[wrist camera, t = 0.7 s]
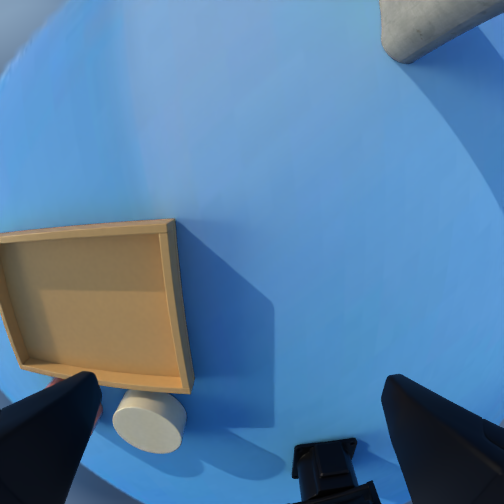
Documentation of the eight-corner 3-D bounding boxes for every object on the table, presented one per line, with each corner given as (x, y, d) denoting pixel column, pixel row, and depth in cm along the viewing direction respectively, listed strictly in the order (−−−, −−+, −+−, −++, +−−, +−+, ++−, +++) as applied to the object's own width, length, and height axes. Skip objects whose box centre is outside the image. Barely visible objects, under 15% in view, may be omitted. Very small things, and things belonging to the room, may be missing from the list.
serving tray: (195, 378, 24) (190, 394, 21) (30, 358, 24) (20, 369, 22) (175, 218, 20) (166, 223, 18) (-3, 233, 20) (-18, 238, 18)
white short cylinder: (192, 434, 25) (187, 457, 23) (132, 428, 26) (124, 448, 23) (181, 388, 24) (174, 411, 21) (115, 382, 24) (103, 402, 21)
